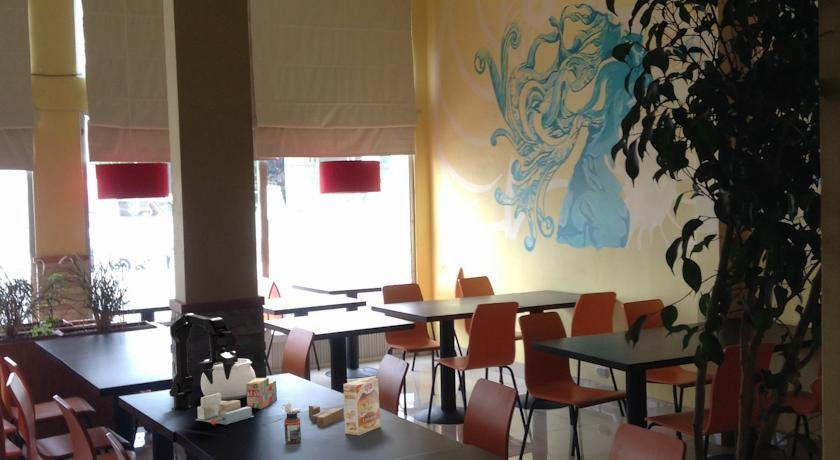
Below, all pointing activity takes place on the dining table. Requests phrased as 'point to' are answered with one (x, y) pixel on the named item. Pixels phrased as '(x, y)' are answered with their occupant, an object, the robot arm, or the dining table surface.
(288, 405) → the teacup and saucer
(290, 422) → the supplement bottle
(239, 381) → the pot
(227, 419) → the pale blue base plate
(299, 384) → the dining table surface
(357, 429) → the coffeecake box
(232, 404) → the beech block
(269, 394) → the stack of blocks
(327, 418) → the wooden block set
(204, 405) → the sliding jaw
